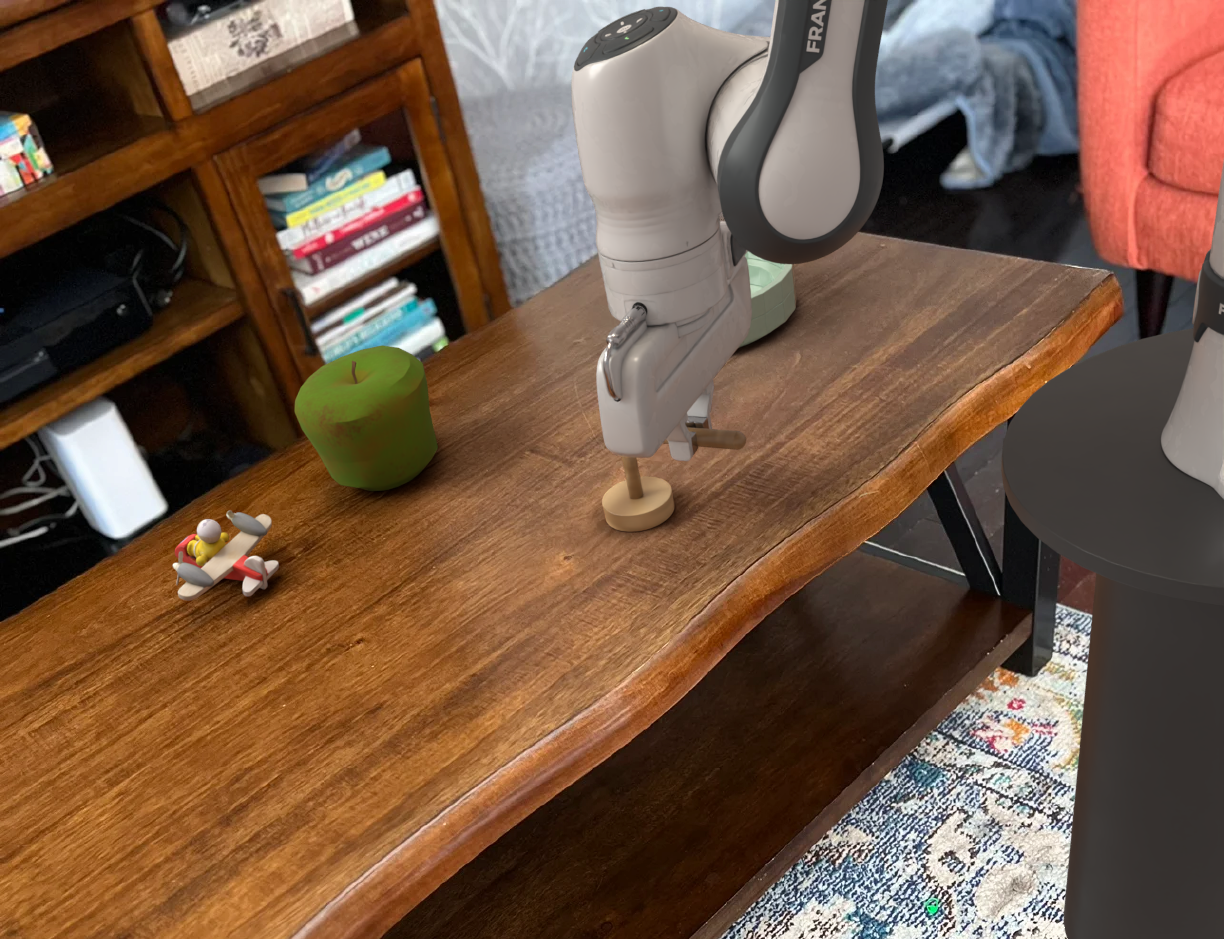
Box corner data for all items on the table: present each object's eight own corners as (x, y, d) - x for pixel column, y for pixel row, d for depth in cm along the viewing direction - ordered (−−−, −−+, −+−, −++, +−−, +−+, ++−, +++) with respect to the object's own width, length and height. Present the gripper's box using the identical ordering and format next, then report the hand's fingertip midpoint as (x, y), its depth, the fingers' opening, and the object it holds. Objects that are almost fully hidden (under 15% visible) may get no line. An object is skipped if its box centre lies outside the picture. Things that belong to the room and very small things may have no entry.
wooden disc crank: (769, 503, 105) (758, 412, 99) (742, 545, 102) (729, 453, 96) (624, 489, 111) (606, 402, 105) (593, 527, 108) (573, 440, 102)
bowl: (821, 283, 132) (817, 234, 129) (758, 366, 122) (752, 316, 119) (670, 280, 140) (662, 234, 136) (599, 358, 130) (589, 311, 126)
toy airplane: (187, 573, 115) (156, 513, 111) (283, 543, 116) (256, 481, 111) (190, 628, 109) (157, 566, 104) (291, 595, 109) (263, 532, 105)
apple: (383, 430, 128) (346, 323, 120) (477, 446, 122) (444, 334, 114) (301, 497, 121) (256, 388, 113) (396, 517, 115) (355, 403, 107)
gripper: (642, 346, 84) (674, 524, 94) (757, 215, 95) (775, 385, 105) (560, 343, 87) (599, 516, 96) (681, 215, 98) (706, 381, 108)
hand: (692, 446), depth 101 cm, fingers closed on wooden disc crank
